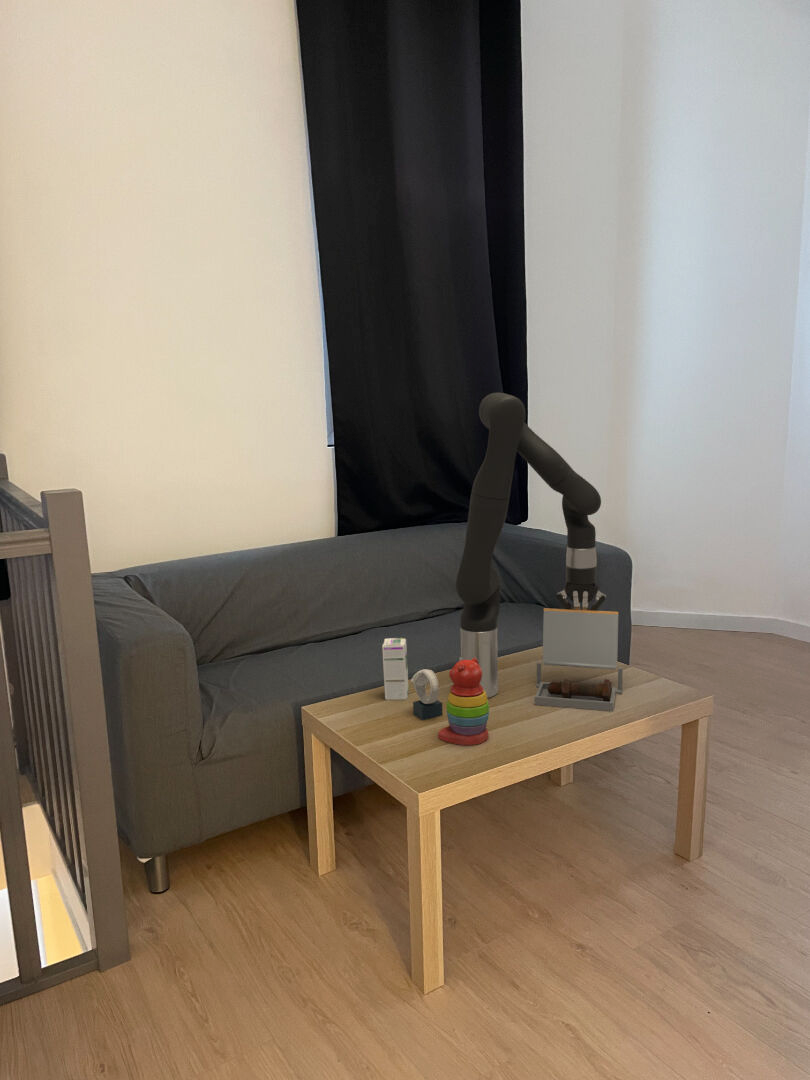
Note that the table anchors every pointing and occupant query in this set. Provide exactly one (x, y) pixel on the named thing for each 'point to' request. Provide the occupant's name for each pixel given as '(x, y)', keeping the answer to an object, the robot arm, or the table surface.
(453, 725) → the stacking bear
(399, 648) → the syrup box
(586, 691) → the bolt
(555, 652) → the lid
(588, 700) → the housing
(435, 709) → the watch
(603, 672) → the table surface
